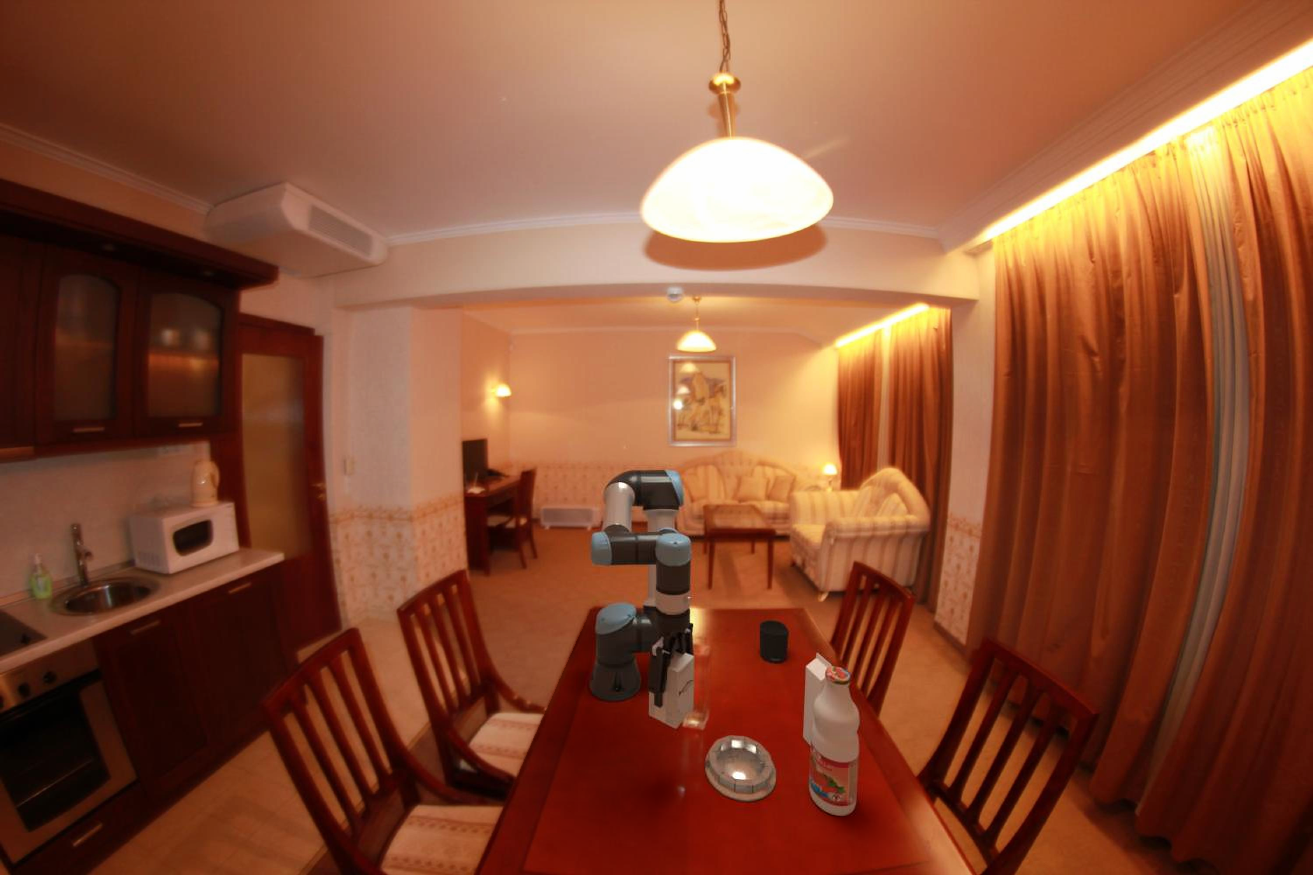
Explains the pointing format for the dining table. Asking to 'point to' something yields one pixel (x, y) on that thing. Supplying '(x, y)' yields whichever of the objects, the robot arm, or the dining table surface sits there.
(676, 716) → the supplement box
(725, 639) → the dining table surface
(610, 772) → the dining table surface
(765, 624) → the black smart speaker
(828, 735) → the fruit juice
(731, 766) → the silver round shallow dish
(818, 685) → the milk
